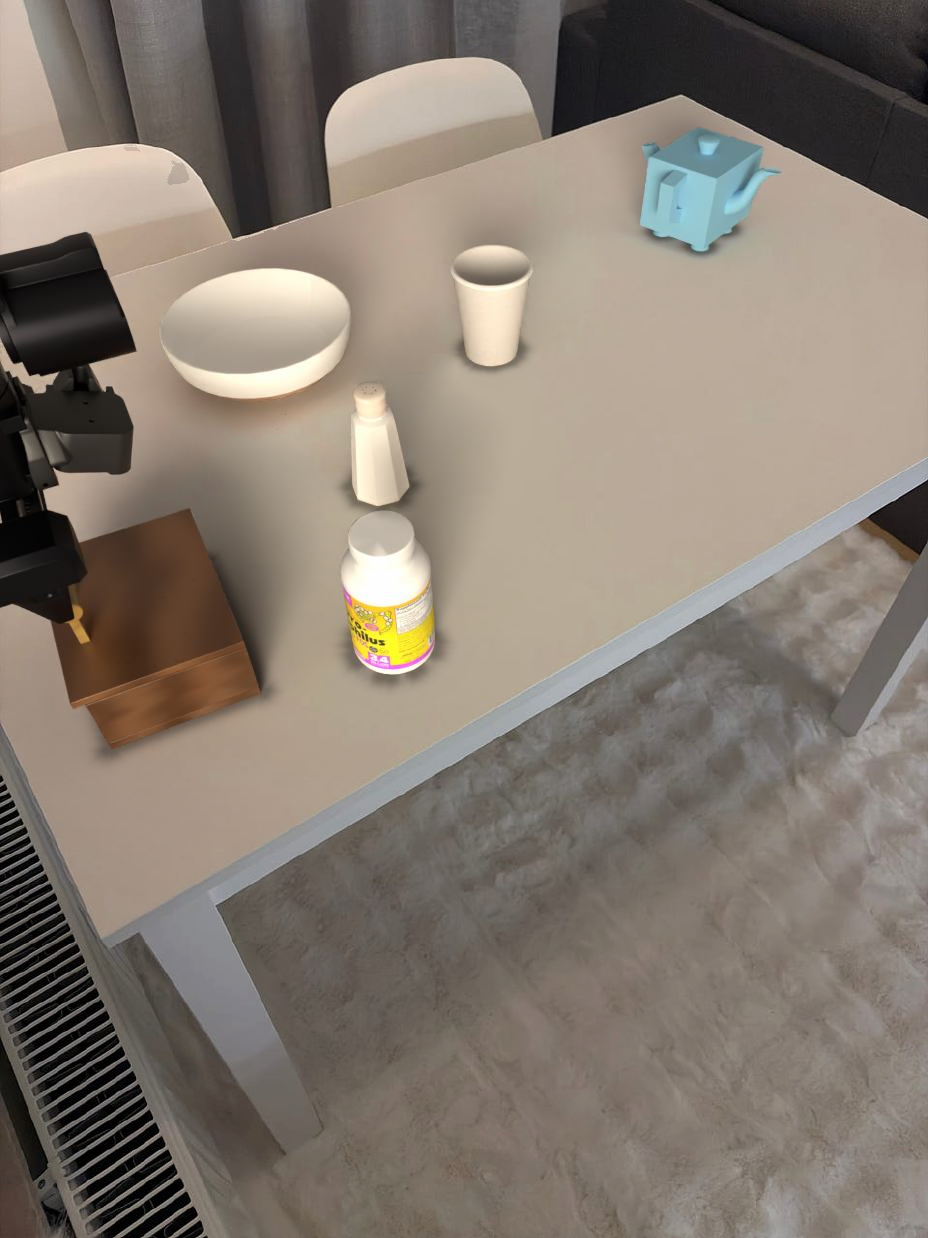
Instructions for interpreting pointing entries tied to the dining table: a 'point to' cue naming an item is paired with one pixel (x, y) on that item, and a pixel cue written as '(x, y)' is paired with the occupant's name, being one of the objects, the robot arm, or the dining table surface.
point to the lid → (143, 609)
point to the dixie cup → (491, 300)
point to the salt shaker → (376, 448)
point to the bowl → (257, 333)
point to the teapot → (700, 186)
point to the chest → (175, 698)
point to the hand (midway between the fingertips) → (55, 575)
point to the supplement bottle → (388, 593)
